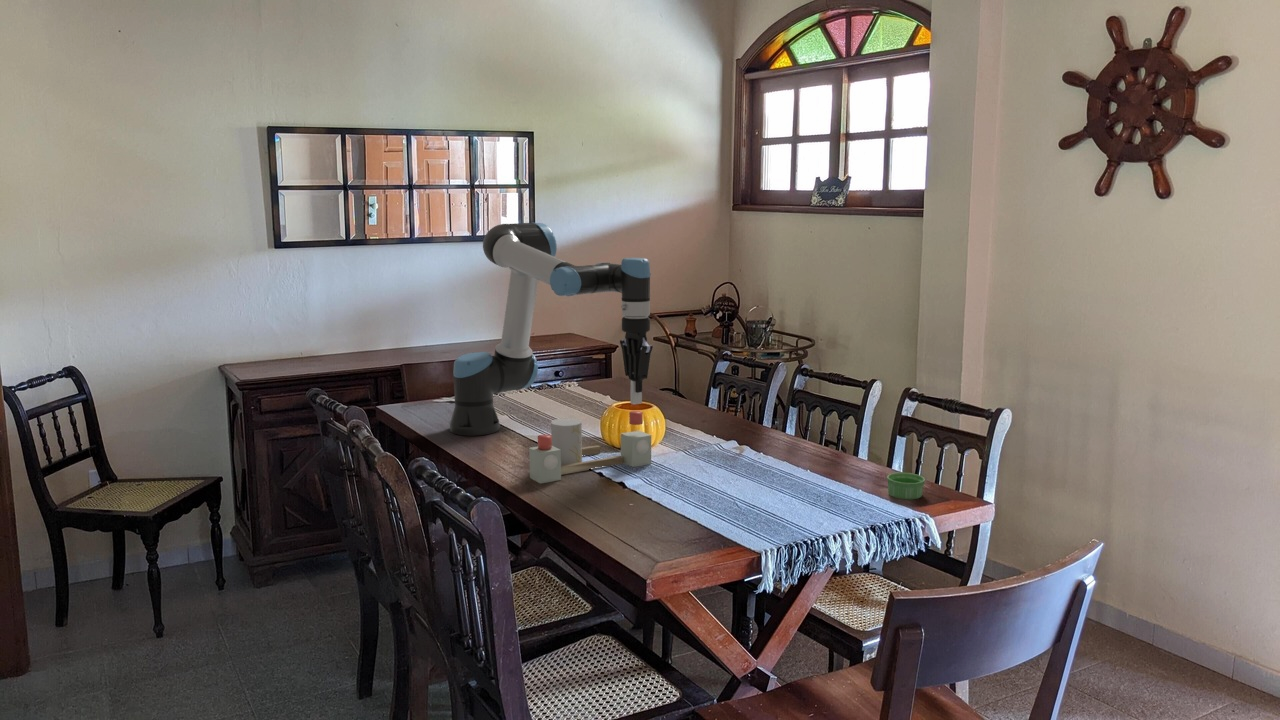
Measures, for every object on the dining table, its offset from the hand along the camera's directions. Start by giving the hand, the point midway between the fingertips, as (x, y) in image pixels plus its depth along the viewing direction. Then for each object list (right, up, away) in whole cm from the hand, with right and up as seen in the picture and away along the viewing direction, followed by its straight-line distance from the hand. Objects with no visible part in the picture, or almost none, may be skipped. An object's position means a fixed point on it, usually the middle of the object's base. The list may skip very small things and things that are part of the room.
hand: (636, 403), depth 270 cm
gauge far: (0, -5, +1) cm, 6 cm away
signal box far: (0, -16, +3) cm, 17 cm away
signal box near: (-23, -19, -11) cm, 32 cm away
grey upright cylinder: (-19, -17, +1) cm, 25 cm away
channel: (-15, -16, +3) cm, 23 cm away
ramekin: (+66, -22, -24) cm, 73 cm away
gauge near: (-23, -11, -13) cm, 29 cm away
